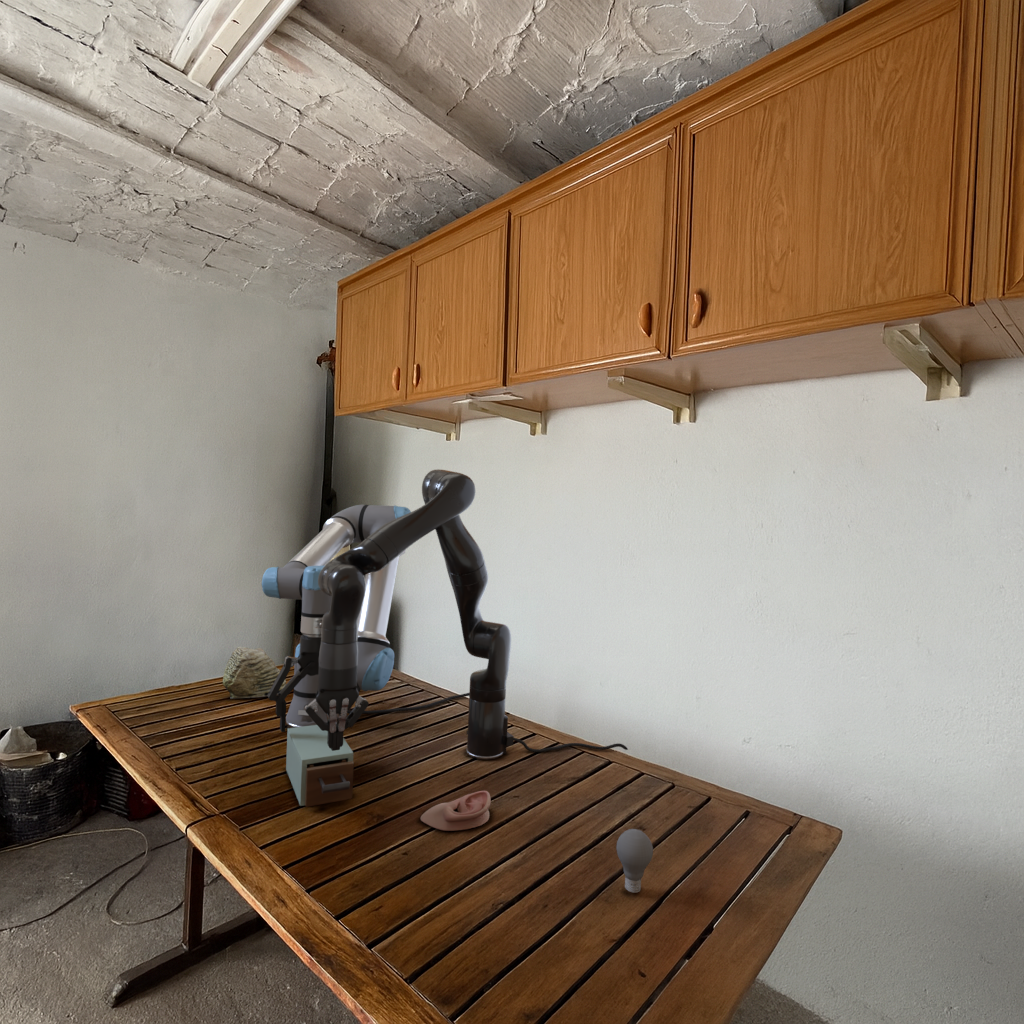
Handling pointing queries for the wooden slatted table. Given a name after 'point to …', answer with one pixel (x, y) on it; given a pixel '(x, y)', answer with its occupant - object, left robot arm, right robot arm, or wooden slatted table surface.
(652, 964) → the wooden slatted table surface
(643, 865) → the light bulb
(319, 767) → the drawer
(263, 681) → the fossil
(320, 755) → the cabinet
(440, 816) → the anatomical model
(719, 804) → the wooden slatted table surface
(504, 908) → the wooden slatted table surface
